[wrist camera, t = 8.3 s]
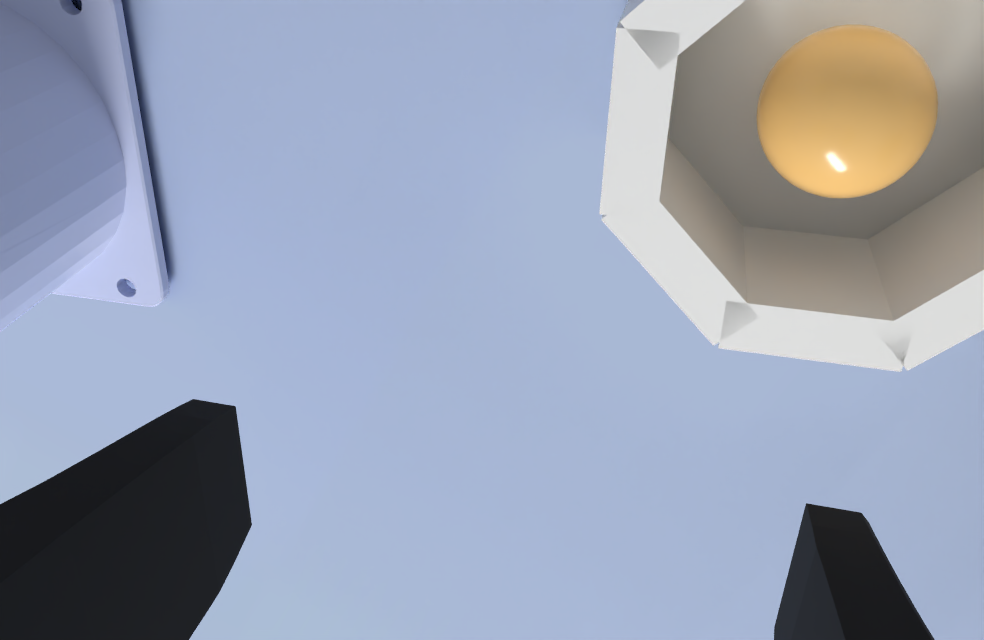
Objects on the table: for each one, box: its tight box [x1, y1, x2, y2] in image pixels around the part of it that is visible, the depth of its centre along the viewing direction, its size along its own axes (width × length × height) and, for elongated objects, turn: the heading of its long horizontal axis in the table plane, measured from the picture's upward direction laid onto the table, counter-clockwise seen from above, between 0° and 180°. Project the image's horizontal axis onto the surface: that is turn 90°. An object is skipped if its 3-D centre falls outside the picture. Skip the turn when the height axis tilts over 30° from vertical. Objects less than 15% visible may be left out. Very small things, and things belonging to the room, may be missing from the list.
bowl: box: [599, 0, 984, 372], centre depth 17 cm, size 8×8×4 cm
